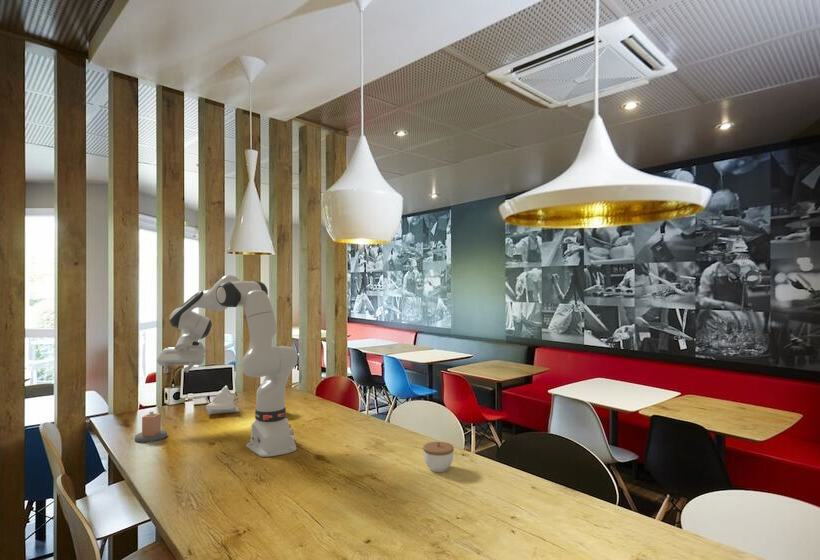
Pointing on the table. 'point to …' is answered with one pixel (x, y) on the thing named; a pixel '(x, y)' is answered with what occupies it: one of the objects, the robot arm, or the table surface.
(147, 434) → the collar
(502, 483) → the table surface
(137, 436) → the stand
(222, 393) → the white irregular peaked block
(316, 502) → the table surface
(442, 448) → the lidded jar
